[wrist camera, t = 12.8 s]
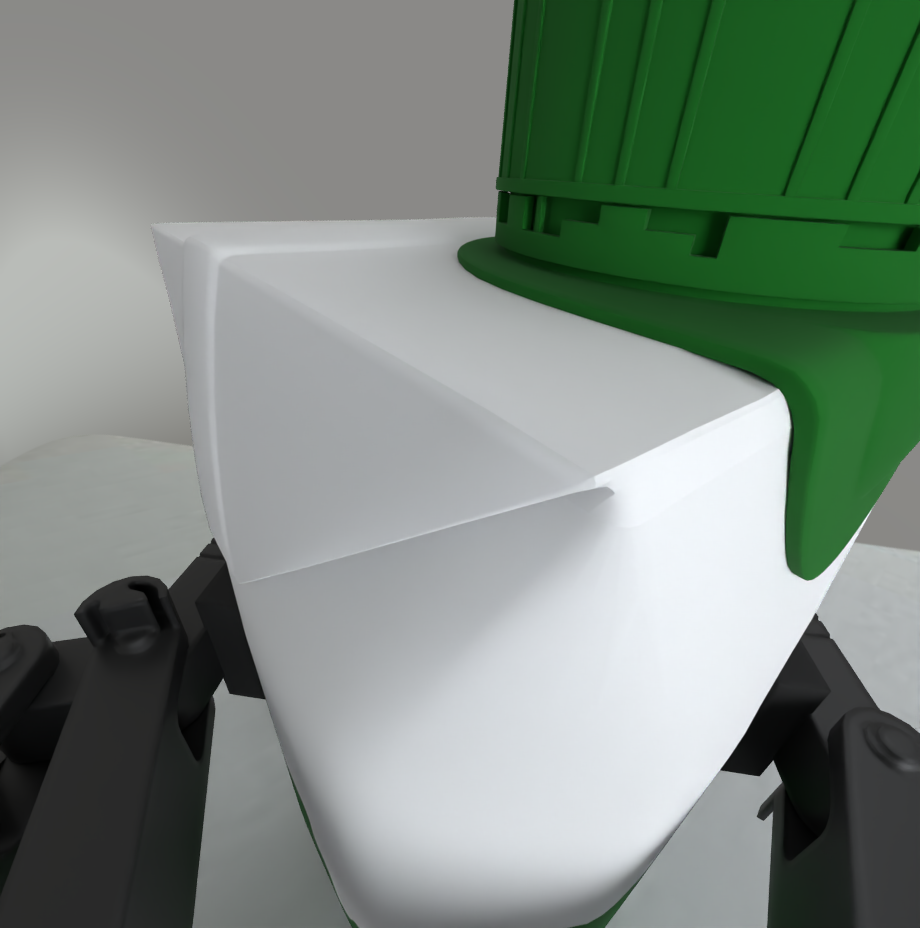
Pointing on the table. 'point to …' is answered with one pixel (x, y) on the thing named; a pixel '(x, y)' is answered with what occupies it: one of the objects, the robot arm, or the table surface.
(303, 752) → the white and green carton
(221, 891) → the table surface
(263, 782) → the table surface
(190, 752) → the robot arm
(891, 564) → the table surface
